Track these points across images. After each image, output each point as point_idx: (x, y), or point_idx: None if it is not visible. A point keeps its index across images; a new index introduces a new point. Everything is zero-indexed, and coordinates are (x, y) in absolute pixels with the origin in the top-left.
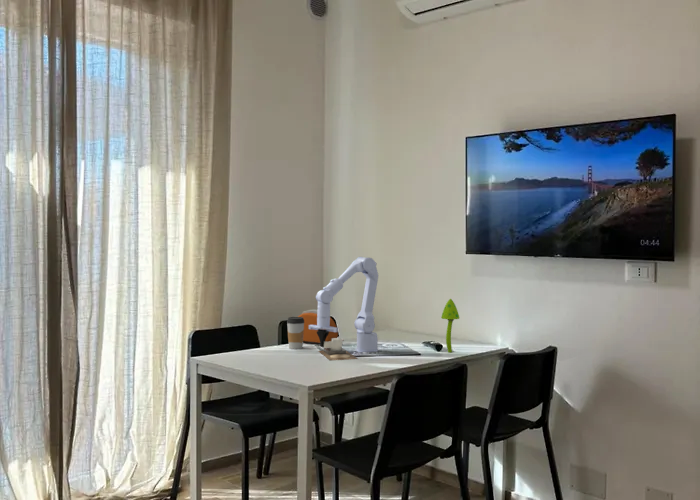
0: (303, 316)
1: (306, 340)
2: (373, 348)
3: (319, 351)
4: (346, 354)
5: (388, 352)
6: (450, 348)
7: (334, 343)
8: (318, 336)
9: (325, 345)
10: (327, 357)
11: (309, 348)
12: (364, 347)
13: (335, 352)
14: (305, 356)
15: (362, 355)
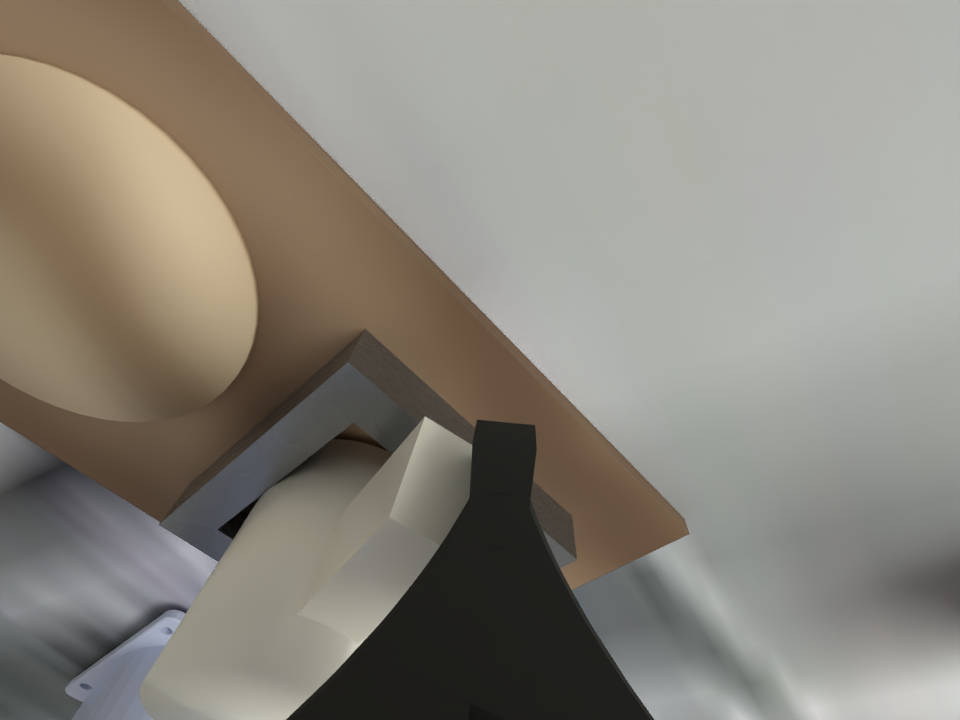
0: None
1: None
2: (82, 716)
3: (639, 500)
4: (156, 459)
5: (6, 696)
6: None
7: (261, 581)
8: (593, 637)
9: (404, 460)
10: (195, 76)
11: (877, 652)
12: (111, 697)
13: (270, 422)
14: (775, 100)
15: (45, 530)
